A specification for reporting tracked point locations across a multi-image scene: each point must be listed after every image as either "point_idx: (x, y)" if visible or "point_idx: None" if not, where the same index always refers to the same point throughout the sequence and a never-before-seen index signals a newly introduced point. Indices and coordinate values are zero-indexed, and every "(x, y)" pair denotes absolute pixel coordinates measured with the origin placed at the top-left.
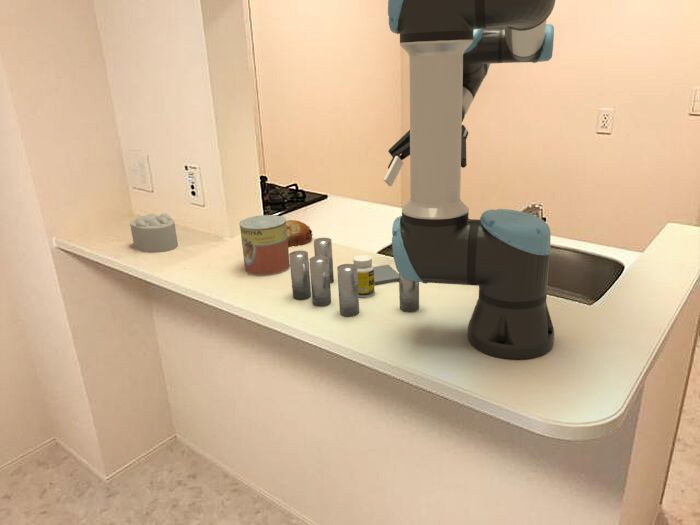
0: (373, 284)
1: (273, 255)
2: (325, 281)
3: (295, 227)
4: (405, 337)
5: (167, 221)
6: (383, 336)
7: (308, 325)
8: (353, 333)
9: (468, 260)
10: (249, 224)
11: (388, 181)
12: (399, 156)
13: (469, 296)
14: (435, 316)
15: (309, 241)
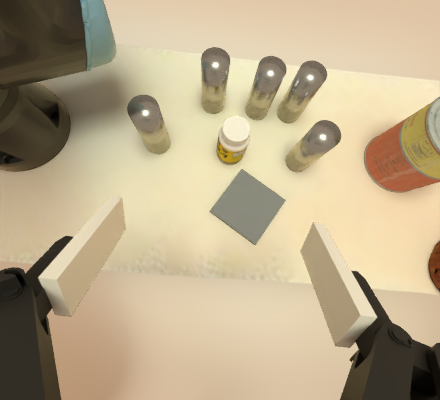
0: (217, 148)
1: (387, 136)
2: (252, 85)
3: None
4: (129, 85)
5: None
6: (150, 77)
7: (232, 64)
8: (181, 70)
9: None
10: None
11: (309, 235)
12: (371, 347)
13: None
14: (121, 139)
15: (432, 277)
